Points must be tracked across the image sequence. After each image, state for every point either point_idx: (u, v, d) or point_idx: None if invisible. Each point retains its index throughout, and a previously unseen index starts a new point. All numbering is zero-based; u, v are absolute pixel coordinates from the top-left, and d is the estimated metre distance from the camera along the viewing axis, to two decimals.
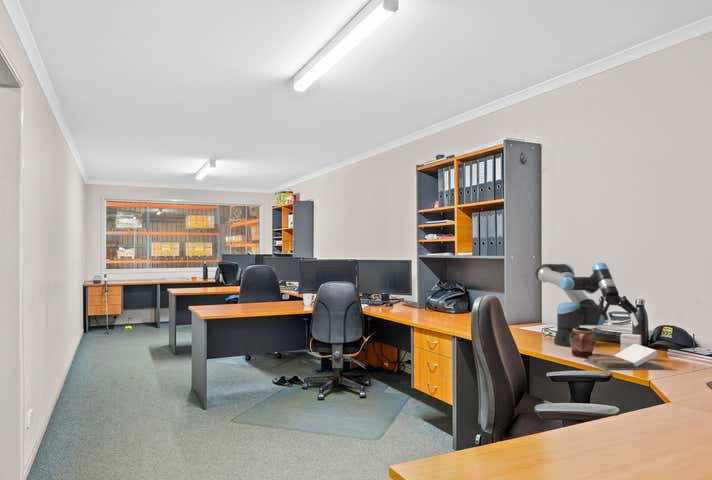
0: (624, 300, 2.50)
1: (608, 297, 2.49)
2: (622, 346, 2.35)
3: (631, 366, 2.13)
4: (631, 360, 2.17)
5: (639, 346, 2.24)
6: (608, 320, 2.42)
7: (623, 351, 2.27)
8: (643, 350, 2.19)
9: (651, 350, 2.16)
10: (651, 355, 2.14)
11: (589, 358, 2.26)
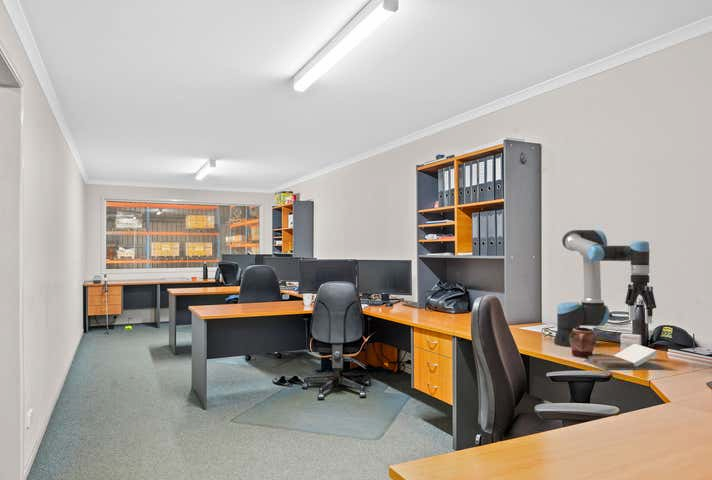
0: None
1: (633, 285, 2.25)
2: (622, 346, 2.35)
3: (631, 366, 2.13)
4: (631, 360, 2.17)
5: (639, 346, 2.24)
6: None
7: (623, 351, 2.27)
8: (643, 350, 2.19)
9: (651, 350, 2.16)
10: (651, 355, 2.14)
11: (589, 358, 2.26)
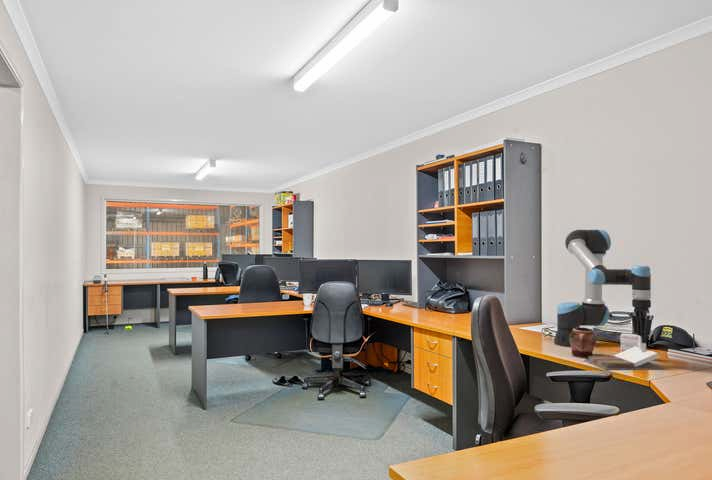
0: None
1: (635, 310, 2.25)
2: (622, 346, 2.35)
3: (631, 366, 2.13)
4: (631, 360, 2.17)
5: None
6: None
7: (623, 352, 2.27)
8: (644, 352, 2.19)
9: (652, 353, 2.16)
10: (652, 357, 2.14)
11: (589, 358, 2.26)
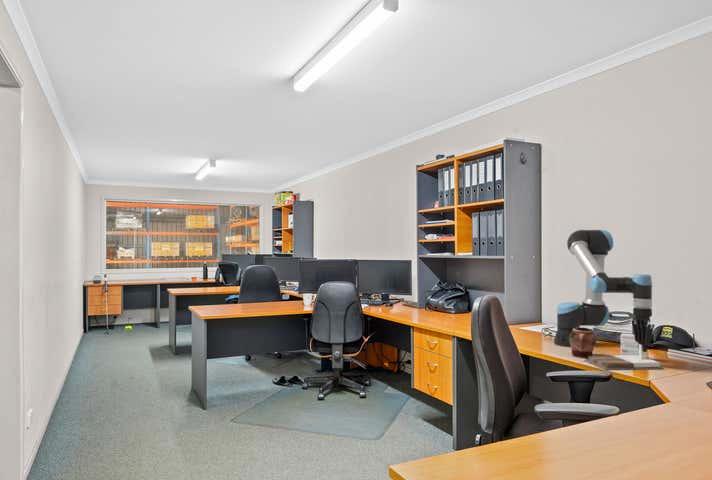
0: None
1: (636, 318, 2.25)
2: (622, 346, 2.35)
3: (631, 366, 2.13)
4: (631, 361, 2.17)
5: None
6: None
7: (624, 355, 2.27)
8: (645, 359, 2.19)
9: (654, 361, 2.16)
10: (652, 364, 2.14)
11: (589, 358, 2.26)
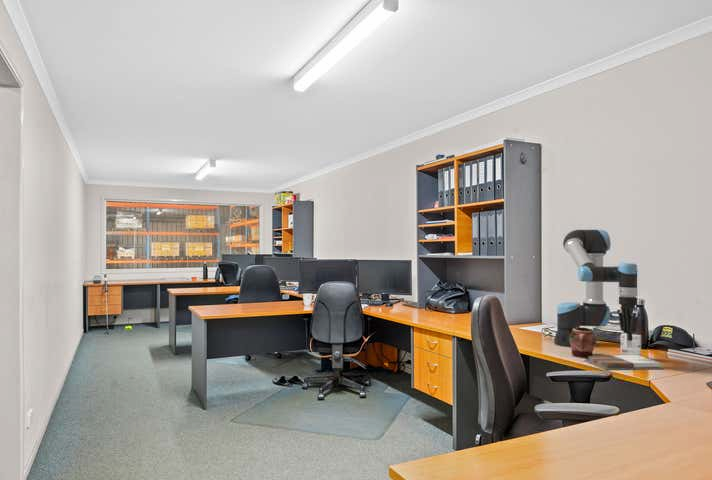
0: None
1: (621, 307, 2.24)
2: (622, 346, 2.35)
3: (631, 366, 2.13)
4: (631, 361, 2.17)
5: (642, 357, 2.24)
6: None
7: (624, 355, 2.27)
8: (645, 359, 2.19)
9: (654, 361, 2.16)
10: (652, 364, 2.14)
11: (589, 358, 2.26)
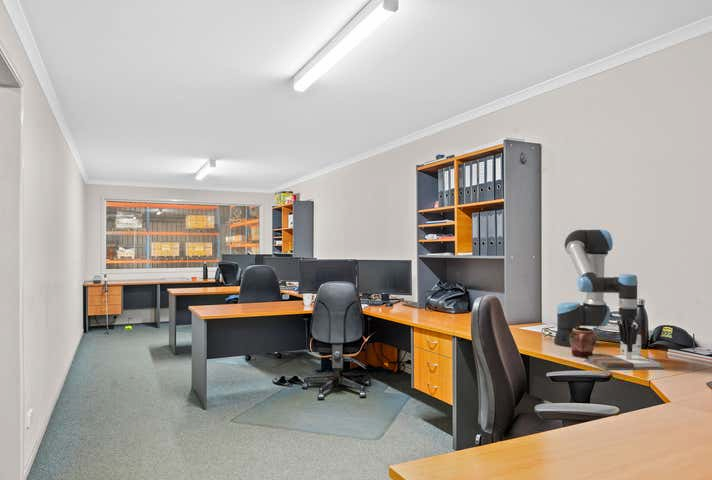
0: None
1: (621, 318, 2.24)
2: (622, 346, 2.35)
3: (631, 366, 2.13)
4: (631, 361, 2.17)
5: (642, 357, 2.24)
6: None
7: None
8: (645, 359, 2.19)
9: (654, 361, 2.16)
10: (652, 364, 2.14)
11: (589, 358, 2.26)
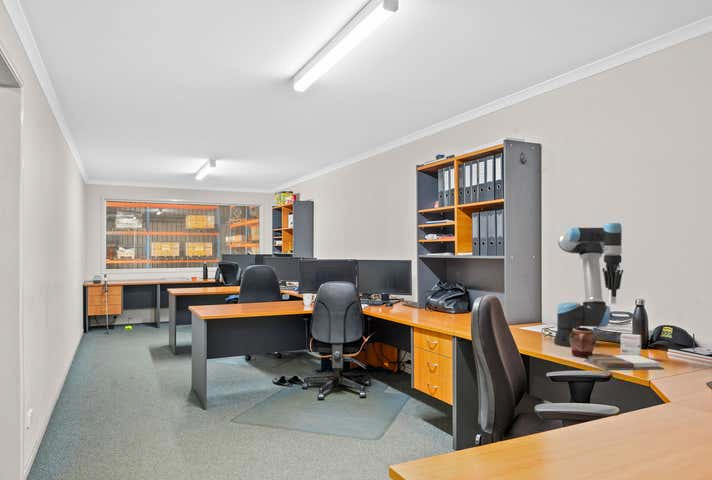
0: None
1: (606, 265, 2.33)
2: (622, 346, 2.35)
3: (631, 366, 2.13)
4: (631, 361, 2.17)
5: (642, 357, 2.24)
6: None
7: (624, 355, 2.27)
8: (645, 359, 2.19)
9: (654, 361, 2.16)
10: (652, 364, 2.14)
11: (589, 358, 2.26)
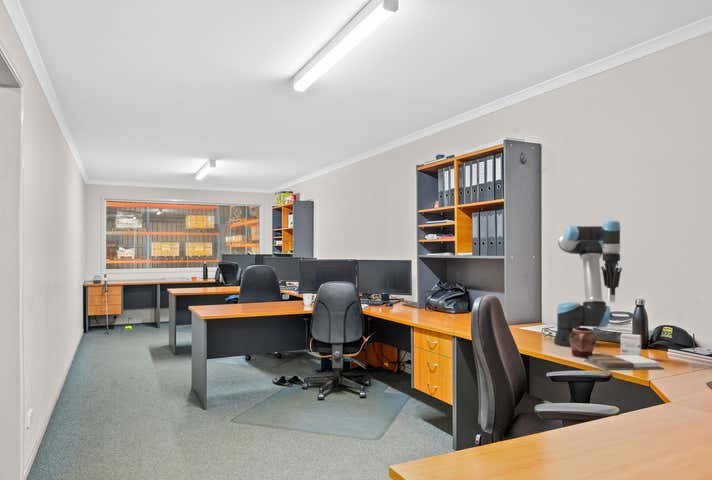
0: None
1: (605, 264, 2.34)
2: (622, 346, 2.35)
3: (631, 366, 2.13)
4: (631, 361, 2.17)
5: (642, 357, 2.24)
6: None
7: (624, 355, 2.27)
8: (645, 359, 2.19)
9: (654, 361, 2.16)
10: (652, 364, 2.14)
11: (589, 358, 2.26)
